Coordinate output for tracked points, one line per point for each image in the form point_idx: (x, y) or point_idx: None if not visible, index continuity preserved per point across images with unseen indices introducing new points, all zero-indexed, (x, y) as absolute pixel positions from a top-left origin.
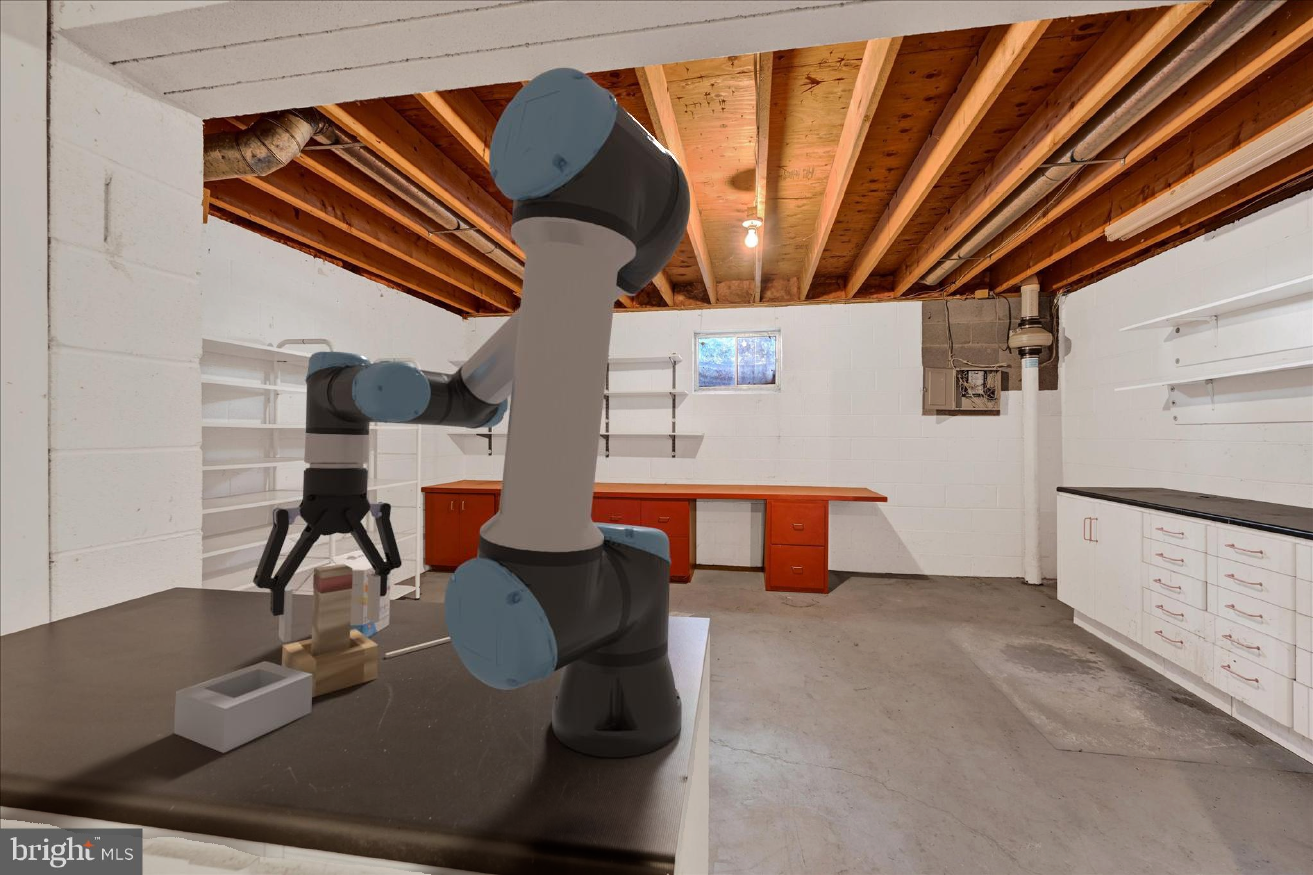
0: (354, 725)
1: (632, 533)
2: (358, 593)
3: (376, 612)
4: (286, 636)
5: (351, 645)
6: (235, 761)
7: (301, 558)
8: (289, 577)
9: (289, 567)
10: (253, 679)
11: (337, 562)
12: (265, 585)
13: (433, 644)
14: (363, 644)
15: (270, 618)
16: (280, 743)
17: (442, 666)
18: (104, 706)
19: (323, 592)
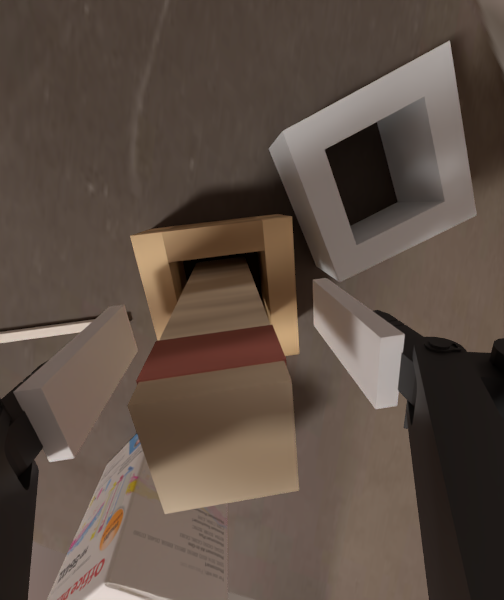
0: (214, 22)
1: None
2: (140, 505)
3: (105, 316)
4: (326, 281)
5: None
6: (387, 30)
7: (460, 467)
8: (431, 371)
9: (481, 409)
10: (355, 239)
11: None
12: (502, 346)
13: (29, 328)
14: (161, 263)
15: (264, 551)
16: (326, 48)
17: (19, 206)
18: None
19: (264, 327)
